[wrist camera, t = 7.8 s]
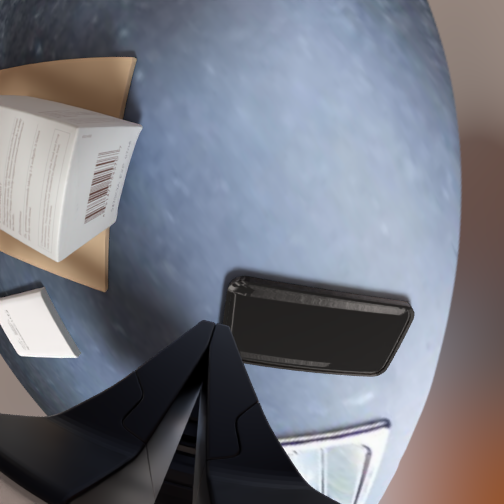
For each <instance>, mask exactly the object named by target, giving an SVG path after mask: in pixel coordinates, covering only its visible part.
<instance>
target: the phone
mask: <svg viewBox="0 0 504 504" xmlns="http://www.w3.org/2000/svg"><path fill="white" fill-rule="evenodd" d="M413 319H414V311H413V309H412V307H411V306H410V304H409V303H408V302H405V301H399V300H392V299H385V298H378V297H372V296H365V295H358V294H352V293H345V292H338V291H332V290H326V289H319V288H313V287H307V286H301V285H295V284H289V283H283V282H277V281H271V280H265V279H259V278H254V277H248V276H240V277H236V278H235V279H233V280H232V281H231V282H230V284H229V287H228V291H227V296H226V303H225V310H224V318H223V325H227V326H229V327H230V330H231V332H232V335H233V338H234V340H235V343H236V345H237V348H238V351H239V353H240V356H241V358H242V361H243V363H246V364H252V365H258V366H265V367H272V368H279V369H287V370H295V371H304V372H314V373H324V374H336V375H351V376H369V377H373V376H378V375H380V374H382V373H384V372H385V371H386V370H387V368H388V367H389V365H390V363H391V361H392V360H393V358H394V356H395V354H396V352H397V350H398V349H399V347H400V345H401V343H402V341H403V339H404V337H405V335H406V333H407V331H408V329H409V327H410V325H411V323H412V321H413Z"/></svg>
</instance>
